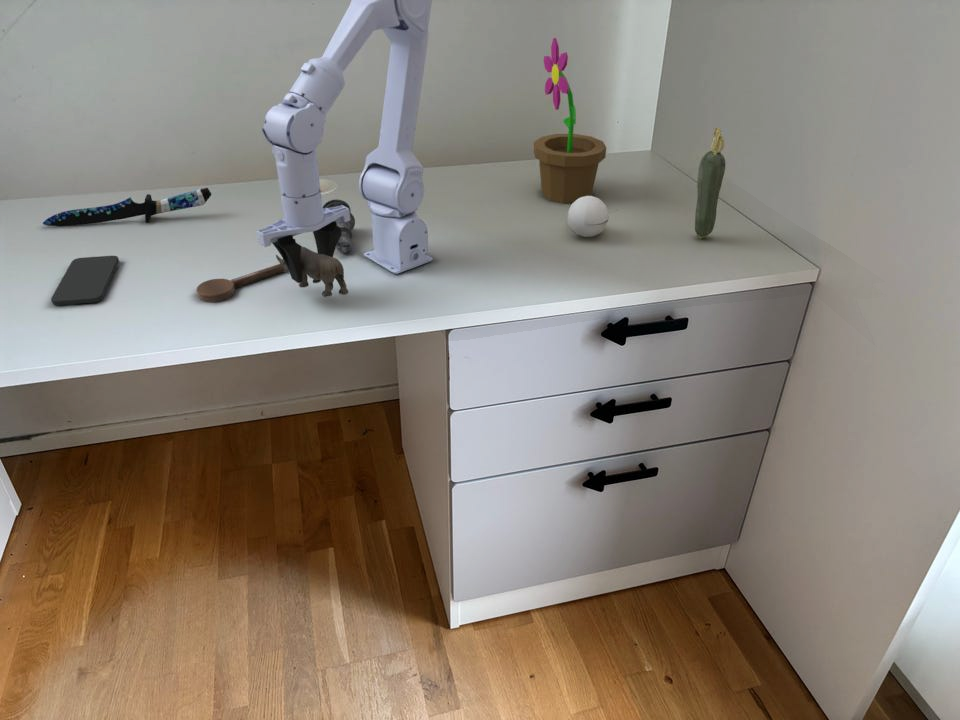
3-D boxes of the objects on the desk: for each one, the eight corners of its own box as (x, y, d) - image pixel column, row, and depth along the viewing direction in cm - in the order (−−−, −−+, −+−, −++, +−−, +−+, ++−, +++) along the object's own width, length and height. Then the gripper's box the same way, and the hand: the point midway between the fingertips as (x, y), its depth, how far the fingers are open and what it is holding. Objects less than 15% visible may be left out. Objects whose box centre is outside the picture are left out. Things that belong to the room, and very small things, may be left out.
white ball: (574, 246, 136) (577, 207, 132) (560, 229, 142) (563, 191, 138) (626, 240, 138) (631, 201, 134) (610, 224, 144) (614, 186, 140)
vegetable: (712, 245, 137) (733, 134, 126) (687, 243, 138) (706, 132, 126) (710, 235, 140) (731, 126, 129) (686, 233, 141) (705, 124, 130)
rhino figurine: (289, 267, 123) (285, 233, 120) (353, 291, 117) (350, 256, 114) (270, 277, 120) (265, 241, 117) (334, 302, 114) (331, 265, 111)
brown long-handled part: (310, 253, 133) (309, 246, 132) (327, 264, 129) (327, 257, 129) (191, 292, 121) (190, 284, 120) (207, 305, 118) (205, 297, 117)
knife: (216, 207, 147) (209, 184, 144) (214, 213, 144) (206, 190, 142) (53, 231, 145) (43, 209, 142) (48, 237, 142) (38, 215, 140)
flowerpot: (521, 185, 161) (527, 32, 144) (584, 178, 165) (597, 28, 148) (546, 210, 150) (556, 48, 133) (613, 203, 153) (630, 43, 137)
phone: (48, 302, 116) (73, 258, 129) (50, 306, 117) (74, 262, 129) (100, 298, 118) (119, 254, 130) (101, 302, 118) (120, 259, 130)
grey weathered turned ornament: (334, 230, 142) (343, 271, 134) (312, 211, 138) (320, 251, 130) (358, 212, 141) (369, 252, 133) (337, 192, 136) (347, 232, 128)
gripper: (328, 171, 117) (337, 252, 125) (241, 195, 109) (256, 280, 117) (354, 184, 113) (362, 267, 120) (265, 210, 105) (279, 297, 112)
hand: (311, 275), depth 118 cm, fingers closed on rhino figurine, 4 cm apart
